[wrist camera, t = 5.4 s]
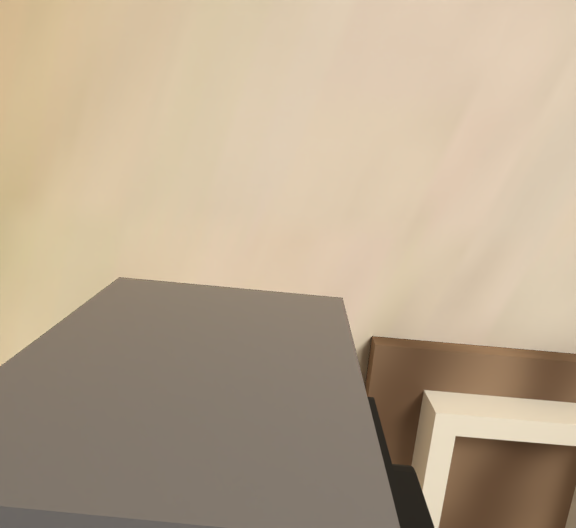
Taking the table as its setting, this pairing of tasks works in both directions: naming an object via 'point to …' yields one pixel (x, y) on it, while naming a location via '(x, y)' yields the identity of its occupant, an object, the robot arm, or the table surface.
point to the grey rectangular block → (191, 415)
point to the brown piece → (481, 429)
